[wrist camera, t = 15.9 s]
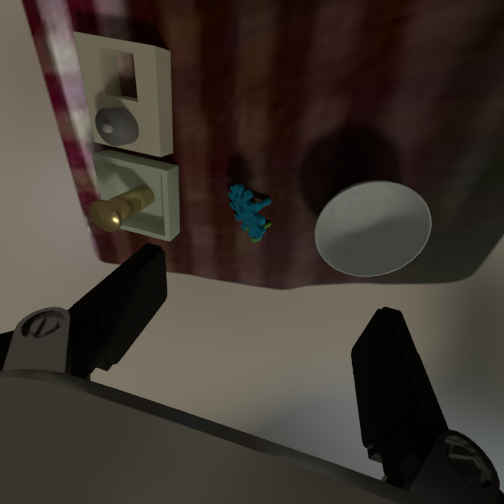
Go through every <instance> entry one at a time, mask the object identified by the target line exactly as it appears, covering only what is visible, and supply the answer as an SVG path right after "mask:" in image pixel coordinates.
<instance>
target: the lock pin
mask: <svg viewBox="0 0 504 504" xmlns="http://www.w3.org/2000/svg"><path fill="white" fill-rule="evenodd" d="M154 200H155V195H154V193H153V191H152V189H151V188H150V187H148V186H146V185H139V186H137V187H135V188H133V189H131V190H128V191H126V192H124V193H122V194H120V195H118V196H116V197H113V198H111V199H109V200H107V201H106V200H97V201H95V202H93V203H92V204H91V205H90V208H89V211H90V215H91V218H92V219H93V221H94V222H95V223H96V224H97V225H98V226H99V227H100V228H101V229H103V230H105V231H109V232H112V231H115V230H117V229H118V228H120V227H121V225H122V222H123V221H124V220H126V219H127V218H129V217H131V216H132V215H134V214H136V213H137V212H139V211H141V210H142V209H144V208H146V207H147V206H149V205H150V204H152V203H153V202H154Z"/></svg>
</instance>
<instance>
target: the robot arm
mask: <svg viewBox="0 0 504 504" xmlns="http://www.w3.org/2000/svg"><path fill="white" fill-rule="evenodd" d="M166 298H167V279H166V262H165V252H164V251H163V250H162V248H161V247H160V246H158V245H154V244H150V243H147V244H145V245H144V246H143V247H142V248H140V249H139V250H138V251H137V252H136V253H134V254H133V255H132V256H131V257H130V258H129V259H127V260H126V261H125V262H124V263H123V264H121V265H120V266H119V267H118V268H117V269H115V271H113V272H112V273H111V274H110V275H108V276H107V277H106V278H105V279H104V280H102V281H101V282H100V283H99V284H98V285H97V286H95V287H94V288H93V289H92V290H90V291H89V292H88V293H87V294H86V295H85V296H83V297H82V298H81V299H80V300H79V301H77V302H76V303H75V304H74V305H73V306H72V307H71V308H70V309H69V310H65V309H63V308H59V307H50V308H45V309H41V310H38V311H35V312H33V313H31V314H29V315H28V316H26V317H25V318H23V319H22V320H21V321H20V322H19V323H18V325H17V326H16V328H15V330H13V331H10V332H6V333H2V334H0V504H504V493H503V492H501V490H500V489H499V488H500V481H499V478H498V475H497V471H496V470H495V468H494V466H493V464H492V462H491V461H490V459H489V458H488V457H487V455H486V454H485V453H484V451H483V450H482V449H481V448H480V447H479V446H478V445H477V444H476V443H475V442H474V441H472V440H471V439H470V438H468V437H467V436H465V435H464V434H462V433H459V432H458V431H454V430H449V429H448V426H447V424H446V421H445V418H444V416H443V414H442V411H441V409H440V406H439V403H438V401H437V398H436V396H435V393H434V391H433V388H432V386H431V383H430V381H429V378H428V376H427V373H426V371H425V368H424V366H423V363H422V360H421V358H420V355H419V354H418V352H417V350H416V348H415V345H414V343H413V340H412V337H411V335H410V332H409V330H408V327H407V325H406V322H405V320H404V317H403V315H402V313H401V311H399V310H395V309H392V308H388V307H383V308H382V309H378V310H377V311H376V312H375V314H374V316H373V317H372V318H371V320H370V322H369V323H368V325H367V326H366V328H365V329H364V331H363V333H362V334H361V336H360V337H359V339H358V340H357V342H356V343H355V345H354V346H353V348H352V352H351V359H352V366H353V374H354V382H355V389H356V397H357V405H358V412H359V420H360V428H361V436H362V442H363V445H364V447H366V448H367V450H368V457H369V459H371V460H374V461H377V462H380V463H382V464H383V470H384V474H385V475H384V477H383V478H382V480H378V479H375V478H372V477H370V476H367V475H364V474H362V473H359V472H356V471H354V470H351V469H348V468H345V467H343V466H340V465H337V464H334V463H332V462H329V461H326V460H323V459H320V458H317V457H314V456H311V455H309V454H305V453H303V452H300V451H297V450H294V449H291V448H288V447H286V446H283V445H280V444H277V443H274V442H271V441H268V440H265V439H262V438H260V437H257V436H254V435H251V434H248V433H245V432H242V431H239V430H236V429H233V428H230V427H227V426H224V425H222V424H218V423H216V422H213V421H210V420H207V419H204V418H201V417H198V416H195V415H192V414H189V413H186V412H184V411H181V410H178V409H175V408H172V407H169V406H166V405H162V404H160V403H157V402H154V401H151V400H148V399H145V398H142V397H139V396H136V395H133V394H130V393H127V392H124V391H121V390H118V389H115V388H112V387H109V386H105V385H102V384H99V383H96V382H93V381H90V374H91V373H92V372H93V370H94V369H95V368H100V369H102V370H105V371H108V370H109V369H110V367H111V366H112V365H113V364H117V363H118V362H119V361H120V360H121V358H122V357H123V356H124V354H125V353H126V352H127V351H128V349H129V348H130V347H131V345H132V344H133V343H134V341H135V340H136V338H137V337H138V336H139V335H140V333H141V332H142V331H143V329H144V328H145V327H146V325H147V324H148V323H149V322H150V320H151V319H152V318H153V316H154V315H155V313H156V312H157V311H158V310H159V308H160V307H161V306H162V304H163V303H164V302H165V300H166Z"/></svg>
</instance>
